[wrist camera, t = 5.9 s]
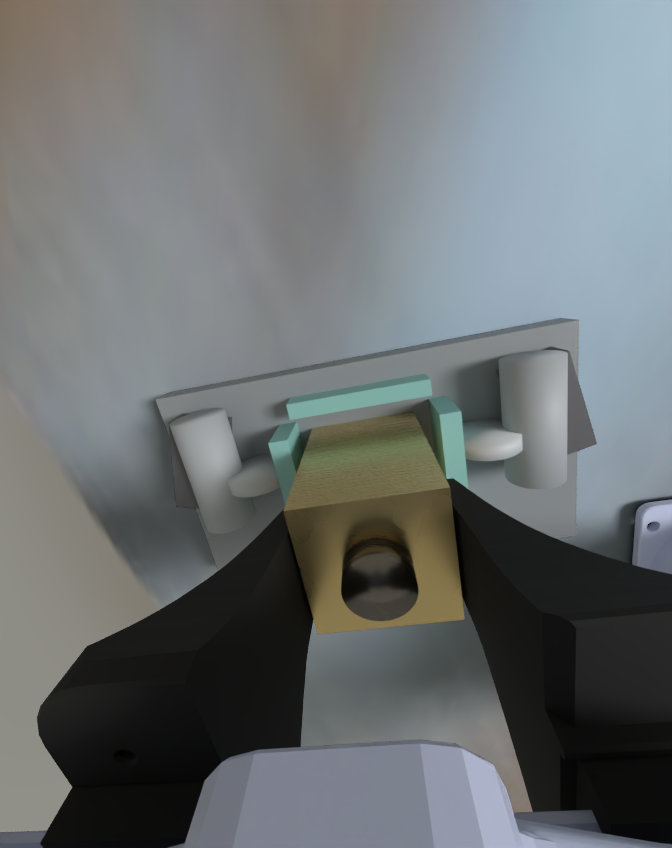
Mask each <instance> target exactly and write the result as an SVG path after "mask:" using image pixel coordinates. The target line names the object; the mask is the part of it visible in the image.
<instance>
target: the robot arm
mask: <svg viewBox="0 0 672 848" xmlns="http://www.w3.org/2000/svg"><path fill="white" fill-rule="evenodd" d="M446 480H447V482H448V484H449V486H450V491H451V500H452V509H453V518H454V527H455V536H456V545H457V554H458V563H459V572H460V581H461V590H462V597H463V599H464V601H465V604H466V606H467V608H468V611H469V613H470V616H471V618H472V620H473V623H474V625H475V627H476V630H477V632H478V635H479V638H480V640H481V643H482V646H483V649H484V652H485V655H486V658H487V661H488V664H489V668H490V671H491V674H492V677H493V680H494V683H495V687H496V690H497V693H498V696H499V700H500V703H501V706H502V709H503V712H504V716H505V719H506V722H507V725H508V729H509V732H510V736H511V739H512V742H513V746H514V749H515V752H516V756H517V759H518V762H519V766H520V769H521V772H522V776H523V779H524V782H525V786H526V789H527V793H528V796H529V800H530V803H531V807H532V810H533V812H521V813H513V810H512V807H511V804H510V800H509V797H508V794H507V790H506V788H505V786H504V784H503V782H502V780H501V779H500V777H499V775H498V773H497V771H496V769H495V767H494V766H493V764H491V763H490V762H488V761H487V760H485V759H484V758H482V757H480V756H478V755H476V754H475V753H473V752H471V751H469V750H467V749H465V748H463V747H462V746H460V745H458V744H456V743H447V742H438V741H428V740H405V741H389V742H373V743H357V744H341V745H325V746H309V747H300V746H301V728H302V713H303V697H304V684H305V672H306V660H307V653H308V646H309V640H310V634H311V629H312V623H313V615H312V612H311V608H310V605H309V601H308V598H307V594H306V590H305V587H304V583H303V580H302V576H301V573H300V569H299V565H298V562H297V558H296V555H295V551H294V548H293V544H292V540H291V537H290V533H289V530H288V526H287V523H286V519H285V516H284V512H283V511H284V509H283V510H282V511H281V512H280V513H279V514H278V515H277V516H276V517H275V519H274V520H273V521H272V522H271V523H270V524H269V525H268V526H267V527H266V528H265V529H264V530H263V531H262V532H261V533H260V534H259V535H258V536H257V537H256V538H255V539H254V540H253V541H252V542H251V543H250V544H249V545H248V546H247V547H246V548H244V549H243V550H242V551H241V552H240V553H239V554H238V555H237V556H236V557H235V558H234V559H232V560H231V561H230V562H229V563H228V564H226V565H225V566H224V567H223V568H221V569H220V570H219V571H218V572H216V573H215V574H214V575H212V576H211V577H210V578H208V579H207V580H206V581H204V582H203V583H201V584H200V585H198V586H197V587H195V588H194V589H192V590H191V591H189V592H188V593H186V594H185V595H183V596H182V597H180V598H179V599H177V600H176V601H174V602H172V603H171V604H169V605H167V606H166V607H164V608H162V609H161V610H159V611H157V612H155V613H153V614H152V615H150V616H148V617H147V618H145V619H143V620H141V621H139V622H137V623H135V624H133V625H131V626H129V627H127V628H125V629H123V630H121V631H119V632H117V633H115V634H113V635H111V636H108V637H106V638H104V639H102V640H100V641H98V642H96V643H94V644H91V645H89V646H87V647H86V648H85V650H84V651H83V652H82V653H81V655H80V656H79V657H78V658H77V660H76V661H75V662H74V664H73V665H72V666H71V667H70V669H69V670H68V671H67V673H66V674H65V675H64V677H63V678H62V679H61V680H60V682H59V683H58V684H57V686H56V687H55V688H54V689H53V691H52V692H51V693H50V695H49V696H48V697H47V698H46V700H45V701H44V702H43V704H42V705H41V706H40V710H39V713H38V716H37V722H38V730H39V736H40V738H41V739H42V742H43V744H44V746H45V747H46V749H47V750H48V752H49V753H50V755H51V756H52V758H53V759H54V761H55V762H56V763H57V765H58V766H59V768H60V769H61V771H62V772H63V774H64V775H65V777H66V778H67V779H68V781H69V783H70V784H71V785H72V789H71V791H70V792H69V794H68V796H67V798H66V799H65V801H64V803H63V805H62V806H61V808H60V810H59V811H58V813H57V815H56V817H55V818H54V820H53V821H52V823H51V825H50V827H49V828H48V830H47V831H27V832H0V848H672V499H671V500H663V501H656V502H648V503H645V504H643V505H641V506H640V507H639V508H638V509H637V512H636V519H635V532H634V546H633V559H632V564H628V563H625V562H622V561H618V560H615V559H611V558H608V557H605V556H602V555H599V554H595V553H592V552H589V551H587V550H584V549H581V548H579V547H576V546H573V545H571V544H568V543H565V542H563V541H560V540H558V539H555V538H553V537H551V536H548V535H546V534H544V533H542V532H540V531H538V530H535V529H533V528H531V527H529V526H527V525H525V524H523V523H521V522H519V521H518V520H516V519H514V518H512V517H510V516H509V515H507V514H505V513H503V512H502V511H500V510H499V509H497V508H495V507H494V506H492V505H491V504H489V503H487V502H486V501H484V500H483V499H481V498H480V497H479V496H477V495H476V494H474V493H473V492H472V491H470V490H469V489H467V488H466V487H465V486H463V485H462V484H461V483H459V482H458V481H456V480H455V479H454V478H451V479H446ZM650 522H652V523H651V524H650V525H649V526H647V525H648V524H649V523H650Z"/></svg>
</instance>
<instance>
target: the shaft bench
mask: <svg viewBox="0 0 672 848" xmlns="http://www.w3.org/2000/svg"><path fill="white" fill-rule="evenodd" d="M578 350H579V320H574V319H564V318H559V319H554V320H548V321H543V322H538V323H533V324H527V325H522V326H517V327H512V328H506V329H501V330H496V331H491V332H485V333H480V334H475V335H469V336H464V337H459V338H454V339H448V340H443V341H438V342H433V343H427V344H422V345H417V346H412V347H406V348H401V349H396V350H390V351H385V352H380V353H375V354H369V355H364V356H359V357H354V358H348V359H343V360H338V361H333V362H327V363H322V364H317V365H312V366H306V367H301V368H296V369H290V370H285V371H280V372H275V373H269V374H264V375H259V376H254V377H248V378H243V379H238V380H233V381H227V382H222V383H217V384H212V385H206V386H201V387H196V388H190V389H185V390H180V391H175V392H170V393H168V394H166V395H164V396H162V397H160V398H158V399H156V403H157V405H158V408H159V411H160V413H161V416H162V419H163V422H164V424H165V427H166V430H167V432H168V435H169V438H170V446H171V457H172V467H173V478H174V489H175V500H176V507H185V508H195V509H196V511H197V514H198V517H199V520H200V522H201V525H202V528H203V530H204V533H205V536H206V539H207V541H208V544H209V547H210V550H211V552H212V555H213V558H214V560H215V563H216V566H217V569H218V571H219V570H220V569H221V568H223V567H224V566H225V565H226V564H228V563H229V562H230V561H231V560H232V559H234V558H235V557H236V556H237V555H238V554H239V553H240V552H241V551H242V550H243V549H244V548H246V547H247V546H248V545H249V544H250V543H251V542H252V541H253V540H254V539H255V538H256V537H257V536H258V535H259V534H260V533H261V532H262V531H263V530H264V529H265V528H266V527H267V526H268V525H269V524H270V523H271V522H272V521H273V520H274V519H275V517H276V516H277V515H278V514H279V513H280V512H281V511H282V510H283V509H284V508H285V505H286V502H287V499H288V496H289V494H290V491H291V488H292V485H293V482H294V479H295V477H296V474H297V471H298V468H299V465H300V462H301V460H302V457H303V454H304V451H305V448H306V445H307V443H308V440H309V437H310V434H311V431H312V428H316V427H322V426H328V425H334V424H340V423H346V422H351V421H357V420H363V419H369V418H375V417H381V416H387V415H393V414H399V413H405V412H411V411H413V412H414V414H415V416H416V418H417V420H418V422H419V424H420V426H421V428H422V430H423V433H424V435H425V437H426V439H427V441H428V443H429V445H430V447H431V449H432V451H433V453H434V455H435V457H436V459H437V461H438V463H439V466H440V468H441V470H442V472H443V474H444V476H445V478H446V479H451V478H454V479H455V480H456V481H458V482H459V483H461V484H462V485H463V486H465V487H466V488H467V489H469V490H470V491H472V492H473V493H474V494H476V495H477V496H479V497H480V498H481V499H483V500H484V501H486V502H487V503H489V504H491V505H492V506H494V507H495V508H497V509H499V510H500V511H502V512H503V513H505V514H507V515H509V516H510V517H512V518H514V519H516V520H518V521H519V522H521V523H523V524H525V525H527V526H529V527H531V528H533V529H535V530H538V531H540V532H542V533H544V534H546V535H548V536H551V537H553V538H563V537H571V536H576V498H577V451H579V450H582V449H585V448H587V447H590V446H592V445H595V444H597V443H596V439H595V436H594V432H593V429H592V426H591V422H590V419H589V415H588V412H587V409H586V405H585V402H584V398H583V395H582V392H581V388H580V385H579V381H578Z"/></svg>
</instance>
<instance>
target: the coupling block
mask: <svg viewBox="0 0 672 848" xmlns="http://www.w3.org/2000/svg"><path fill="white" fill-rule="evenodd" d="M283 512H284V516H285V519H286V523H287V526H288V530H289V533H290V537H291V540H292V544H293V548H294V551H295V555H296V558H297V562H298V565H299V569H300V573H301V576H302V580H303V583H304V587H305V590H306V594H307V598H308V601H309V605H310V608H311V612H312V615H313V619H314V623H315V626H316V630H317V633H318V634H326V633H336V632H346V631H356V630H366V629H376V628H386V627H396V626H406V625H416V624H426V623H436V622H446V621H456V620H465V618H464V608H463V599H462V590H461V581H460V572H459V563H458V554H457V545H456V536H455V527H454V518H453V509H452V500H451V491H450V486H449V484H448V482H447V480H446V478H445V476H444V474H443V472H442V470H441V468H440V466H439V463H438V461H437V459H436V457H435V455H434V453H433V451H432V449H431V447H430V445H429V443H428V441H427V439H426V437H425V435H424V433H423V430H422V428H421V426H420V424H419V422H418V420H417V418H416V416H415V414H414V412H413V411H411V412H405V413H399V414H393V415H387V416H381V417H375V418H369V419H363V420H357V421H351V422H346V423H340V424H334V425H328V426H322V427H316V428H312V431H311V434H310V437H309V440H308V443H307V445H306V448H305V451H304V454H303V457H302V460H301V462H300V465H299V468H298V471H297V474H296V477H295V479H294V482H293V485H292V488H291V491H290V494H289V496H288V499H287V502H286V505H285V508H284V511H283Z"/></svg>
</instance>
